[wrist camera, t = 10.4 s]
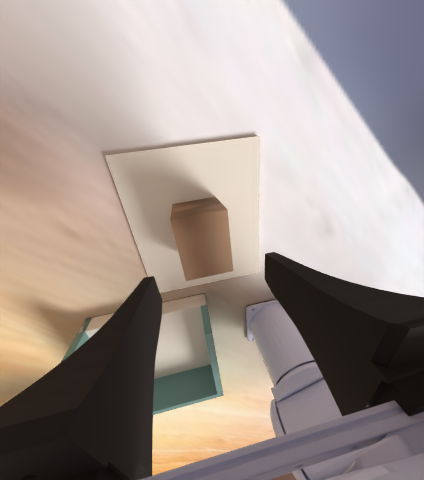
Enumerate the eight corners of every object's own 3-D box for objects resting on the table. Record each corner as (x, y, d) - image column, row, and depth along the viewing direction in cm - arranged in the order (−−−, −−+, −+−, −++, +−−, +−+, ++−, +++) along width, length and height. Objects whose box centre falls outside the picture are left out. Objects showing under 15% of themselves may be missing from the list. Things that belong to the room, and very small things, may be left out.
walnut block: (215, 196, 18) (227, 209, 14) (221, 246, 21) (233, 271, 16) (172, 204, 18) (170, 219, 13) (184, 254, 20) (185, 281, 16)
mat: (257, 136, 17) (259, 135, 16) (257, 270, 24) (258, 272, 23) (106, 155, 15) (104, 155, 15) (154, 292, 22) (154, 294, 22)
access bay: (204, 293, 24) (212, 332, 18) (215, 353, 30) (223, 395, 25) (86, 319, 22) (56, 369, 17) (123, 376, 28) (110, 426, 23)
